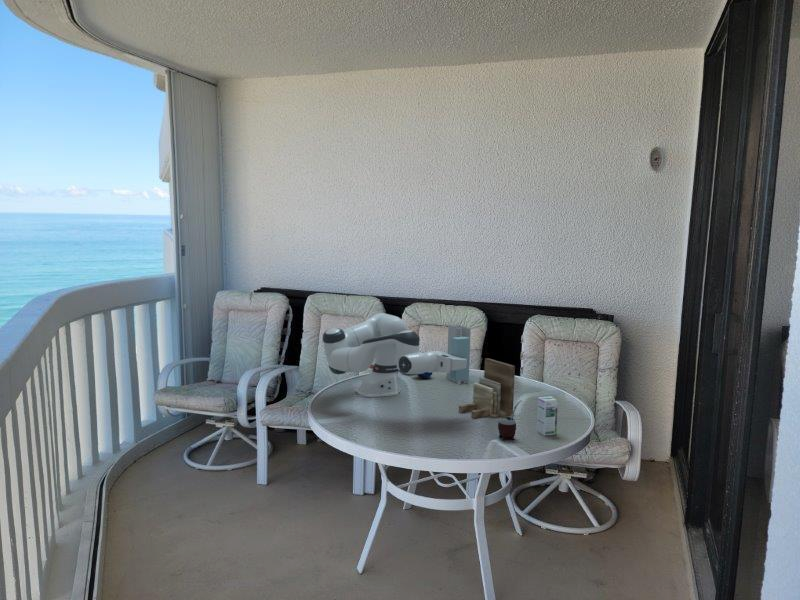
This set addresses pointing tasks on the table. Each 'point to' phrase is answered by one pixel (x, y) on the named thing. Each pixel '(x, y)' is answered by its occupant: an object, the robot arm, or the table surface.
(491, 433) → the table surface
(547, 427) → the syrup box
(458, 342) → the light blue tall block
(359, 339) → the robot arm
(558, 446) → the table surface
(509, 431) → the mate gourd
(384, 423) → the table surface
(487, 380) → the offcut stack
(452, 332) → the brochure
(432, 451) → the table surface
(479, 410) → the offcut rack
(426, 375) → the bomb
